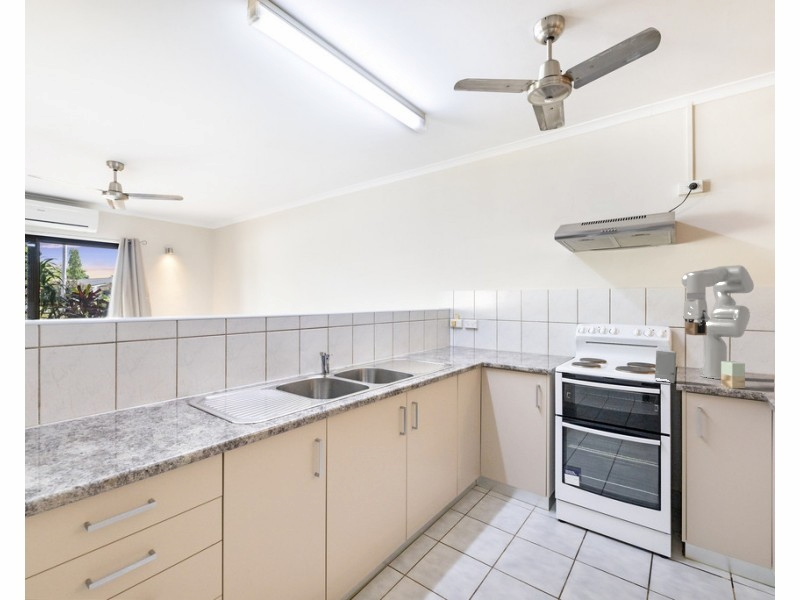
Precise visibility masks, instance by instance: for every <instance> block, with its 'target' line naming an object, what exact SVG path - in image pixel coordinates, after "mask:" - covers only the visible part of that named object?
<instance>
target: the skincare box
mask: <svg viewBox="0 0 800 600" xmlns="http://www.w3.org/2000/svg"><path fill="white" fill-rule="evenodd" d="M676 366H677V351H672V350H667V349H666V350H663V349H657V350H656V351H655V365H654V367H655V368H654V369H655V370H654V379H655V378H660V379H667V380H669V381H670V383H669V384H675V382H676V369H677V368H676Z"/></svg>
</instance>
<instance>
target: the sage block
mask: <svg viewBox="0 0 800 600" xmlns="http://www.w3.org/2000/svg"><path fill="white" fill-rule="evenodd" d="M721 374H725V375H729V376H745V377H746V363H744V362H740V361H735V360H734V361H730V360H729V361H728V360H727V361H721Z"/></svg>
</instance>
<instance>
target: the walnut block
mask: <svg viewBox="0 0 800 600" xmlns="http://www.w3.org/2000/svg"><path fill="white" fill-rule="evenodd" d="M684 323H685V324H684V325H685V328H684V332H685V334H684V335H687V336H688V335H690V336H703V335H707V323H706V325H705V333H698V325H699V324H698V321H696V322H695V321H694V322H686V321H685V322H684Z"/></svg>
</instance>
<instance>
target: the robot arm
mask: <svg viewBox="0 0 800 600" xmlns="http://www.w3.org/2000/svg"><path fill="white" fill-rule="evenodd" d="M681 283H682V286H683V287H685V288H686V299H685V301H684V307H683V316H682V317H683V319H684V321H685V322H695V320H697V322H698V324H699V325H698V333H705V325H706V323H707V335H702V336H703V338H702V339H703V366H702V367H700V368H699V370H700V371H702V372H701V373H699V376H701V377H703V378H706V377H707V379H712V378H714V379H715V380H721V361H728V360H727V359H728V358H727V357H728V356H727V354H728V350H727V349H728V347H727V346H728V345H727V343H726V341H724V339H723V338H742V337H743V336H744V334H745V331H746V329H747V326H748V324H749V321H750V317H751V312H750V309H749V308H748V307H747V306H744V305H736V304H737V302H736V300H735V299H734V298H733V297H732V296H730V295H729V294H749V293H752V292H753V290H754V286H755V285H754V280H753V279H752V277H751V275H750V273H749V271H748V269H746V268H745V266H743V265H740V264H739V265H720V266H716V267H712V268H708V269H707V268H706V269H702V270H696V271H690V272H686V273H684V275H682V277H681ZM709 287H712V290H713V295H714V298H715V303H714V305H713V307H712V309H711V312H710V316H709V315H708V314H709V313H708V304H707V299H706V297H707V296H706V293H707V292H706V289H707V288H709ZM714 379H713V380H714Z"/></svg>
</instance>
